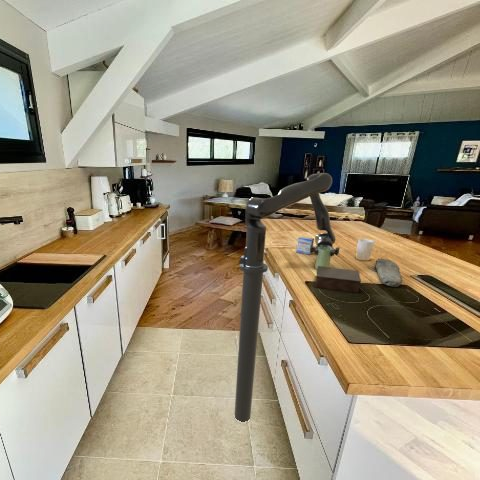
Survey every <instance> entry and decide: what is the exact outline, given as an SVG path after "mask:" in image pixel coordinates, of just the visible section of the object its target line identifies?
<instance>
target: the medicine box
mask: <svg viewBox="0 0 480 480" xmlns="http://www.w3.org/2000/svg"><path fill="white" fill-rule="evenodd" d="M314 242H315V237H314V238H312V237H307V236H306V237H305V236H299V237H298V238H297V244H296V250H295V253H296V254H301V255H309V256H310V255H312V253H310V245H313V246H314Z"/></svg>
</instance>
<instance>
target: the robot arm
mask: <svg viewBox="0 0 480 480" xmlns="http://www.w3.org/2000/svg"><path fill="white" fill-rule="evenodd" d="M332 184H333V177H332V176H331V174H329V173H328V172H319V173H312V174H310V175H309V176H308V177H307V179H306V180H305V181H300V182H296V183H293V184H290V185H287V186H285V187H283V188H282V189H280V190H279V192H278V194H276V195H275V196H274V195H273V196H272V197H268V198H262V197H261V198H260V197H251V198H250V199H249V200H247V202H246V205H245V227H246V237H245V247H244V252H243V254H242V256H240V259H239V260H238V264H239V265H240V264H244V266H245V267H248V268H262V267H263V263H264V262H265V248H266V247H265V246H266V238H267V237H266V236H267V227H266V225H265V224H264V223H263V222H262V220H263V219H266V218H268V217H270V216H273V215H274V214H275V213H277V212H279V211H281V210H283V209H285V208H288V207H290V206H292V205H295V204H298V203H300V202H301V201H304V200H305V199H307V198H310V202H311V205H312V208H313V212H314V218H315V225H316V226H315V227H316V229H317V231H325V232H322V233H318V234H316V235H315V237H314V242H315V246H314V244H313V245H310V253H311V254H314V255H315V256H317V251H318V247H329V248H331V249H332V251H331V257H332V258H333V257H334V256H338V255H339V253H340V248H341V247H340V246H337V247H335V248H334V247H333V246H334V244H335V243H336V235H335V233H334V231H333V229H332V226H331V219H330V213H329V210H328V207H326V205H325V204H324V202H323V200H322V198H321V195H320V193H324V192H326V191H328V190H329V189H330V188H331V187H332Z"/></svg>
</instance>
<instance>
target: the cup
mask: <svg viewBox="0 0 480 480" xmlns="http://www.w3.org/2000/svg"><path fill="white" fill-rule="evenodd" d="M331 251H332V249H331V248H329V247H318V251H317V255H316V256H315V257H316V258H315V264H314V268H315V270H317V266H321V267H330V265H331Z"/></svg>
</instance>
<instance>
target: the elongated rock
mask: <svg viewBox="0 0 480 480" xmlns="http://www.w3.org/2000/svg"><path fill="white" fill-rule="evenodd" d="M374 263H375V264H374V266H375V270H376V271H377V275H378V277H379V279H380V281H381V282H382V283H383V284H384V285H385V286H389V287H391V288H398V287H400V286H402V285H401V284H402V282H403V277H402V275H401V271H400V267H399V266H398V264H397V263H395V262H394V261H393V260H390V259H386V258H383V257H381V258H376V259H375V261H374Z"/></svg>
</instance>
